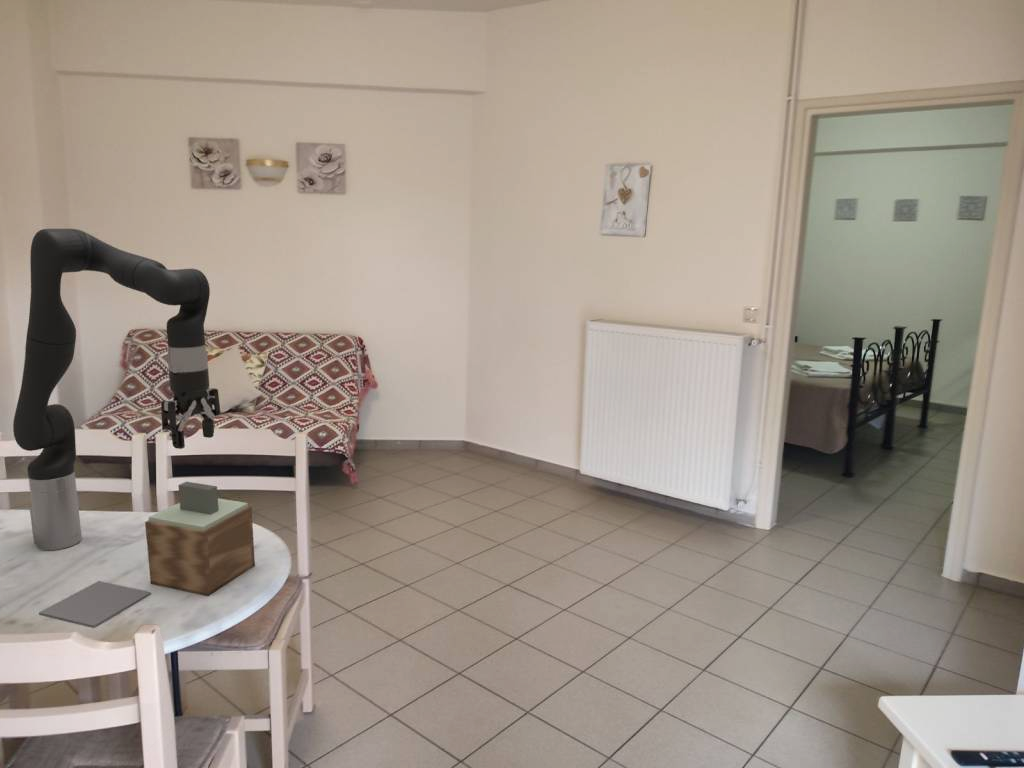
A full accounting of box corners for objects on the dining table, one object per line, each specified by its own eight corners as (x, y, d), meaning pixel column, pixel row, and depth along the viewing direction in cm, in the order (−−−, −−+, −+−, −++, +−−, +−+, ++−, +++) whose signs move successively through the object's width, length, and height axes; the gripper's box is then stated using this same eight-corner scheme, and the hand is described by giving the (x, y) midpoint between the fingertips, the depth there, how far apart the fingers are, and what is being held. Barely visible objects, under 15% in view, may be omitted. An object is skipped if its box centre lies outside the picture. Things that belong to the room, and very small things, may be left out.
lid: (149, 526, 156) (146, 492, 155) (196, 503, 169) (194, 471, 168) (203, 536, 152) (201, 501, 150) (248, 511, 165) (246, 479, 163)
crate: (150, 583, 159) (145, 522, 156) (200, 554, 173) (196, 497, 170) (208, 595, 154) (203, 532, 151) (254, 565, 168) (251, 506, 165)
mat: (39, 614, 146) (38, 612, 146) (98, 582, 159) (98, 580, 159) (94, 627, 142) (94, 625, 141) (151, 594, 154) (150, 592, 154)
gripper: (198, 359, 161) (203, 432, 165) (147, 371, 148) (154, 449, 152) (226, 362, 159) (231, 435, 162) (177, 374, 146) (183, 454, 149)
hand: (194, 442), depth 157 cm, fingers open, 8 cm apart
